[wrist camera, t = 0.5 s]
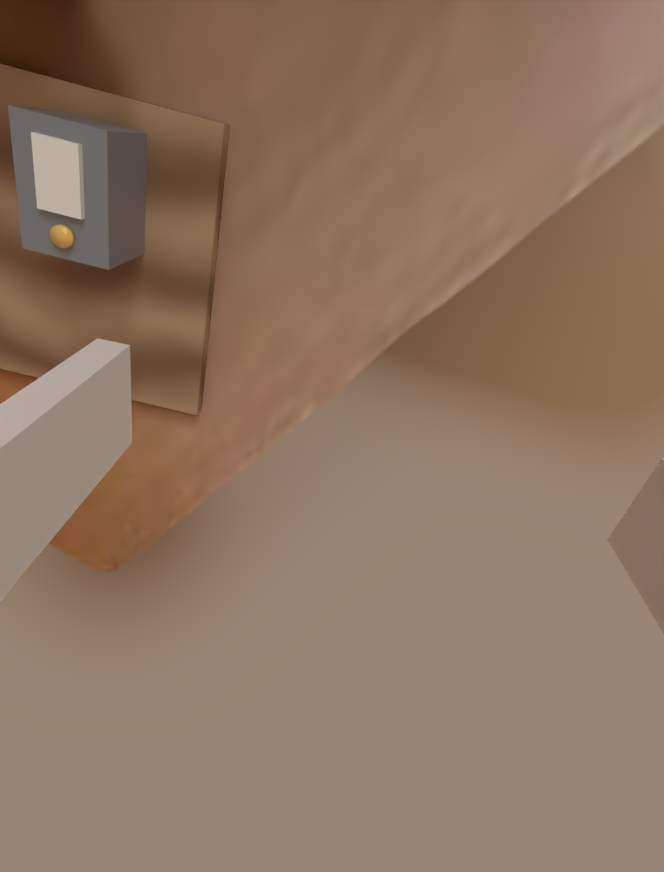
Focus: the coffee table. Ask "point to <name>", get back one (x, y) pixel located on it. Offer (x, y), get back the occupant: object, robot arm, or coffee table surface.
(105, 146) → the block
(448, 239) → the coffee table surface
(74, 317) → the board
